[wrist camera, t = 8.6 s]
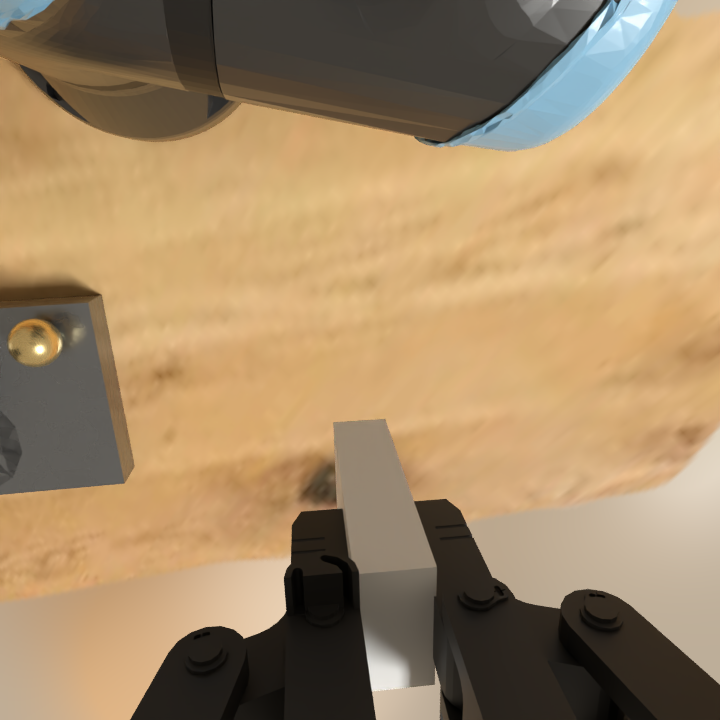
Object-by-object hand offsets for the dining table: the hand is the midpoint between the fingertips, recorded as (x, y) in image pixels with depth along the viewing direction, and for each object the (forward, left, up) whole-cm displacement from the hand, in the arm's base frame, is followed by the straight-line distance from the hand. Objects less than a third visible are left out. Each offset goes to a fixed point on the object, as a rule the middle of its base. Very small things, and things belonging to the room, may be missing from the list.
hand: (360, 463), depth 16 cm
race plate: (+5, -22, -24) cm, 33 cm away
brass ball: (+1, -18, -20) cm, 27 cm away
